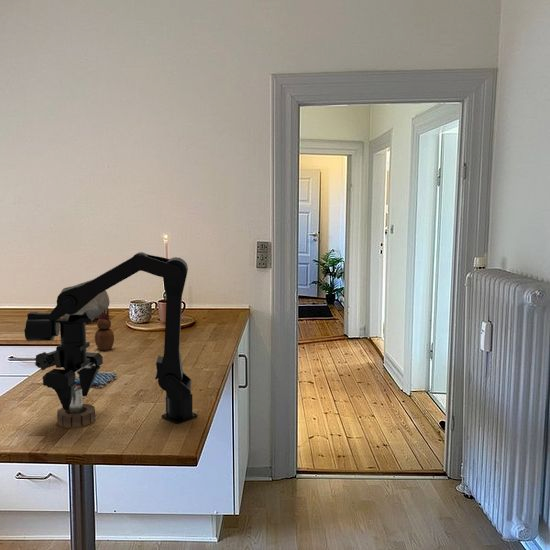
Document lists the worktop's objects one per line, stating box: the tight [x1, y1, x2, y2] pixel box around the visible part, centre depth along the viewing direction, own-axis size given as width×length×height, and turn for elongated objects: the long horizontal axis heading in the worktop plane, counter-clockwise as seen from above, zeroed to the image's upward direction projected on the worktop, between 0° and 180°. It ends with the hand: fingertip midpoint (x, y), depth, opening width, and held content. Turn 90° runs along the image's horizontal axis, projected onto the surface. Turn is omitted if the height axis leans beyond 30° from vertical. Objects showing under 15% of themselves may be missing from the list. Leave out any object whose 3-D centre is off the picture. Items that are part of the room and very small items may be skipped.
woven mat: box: [74, 371, 118, 389], centre depth 163 cm, size 10×11×2 cm
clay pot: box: [60, 285, 110, 320], centre depth 243 cm, size 21×21×15 cm
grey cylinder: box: [70, 386, 84, 414], centre depth 135 cm, size 3×3×8 cm
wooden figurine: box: [94, 308, 115, 351], centre depth 197 cm, size 7×6×15 cm
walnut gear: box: [56, 403, 96, 429], centre depth 135 cm, size 9×9×3 cm
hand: (75, 402), depth 135 cm, fingers open, 9 cm apart
